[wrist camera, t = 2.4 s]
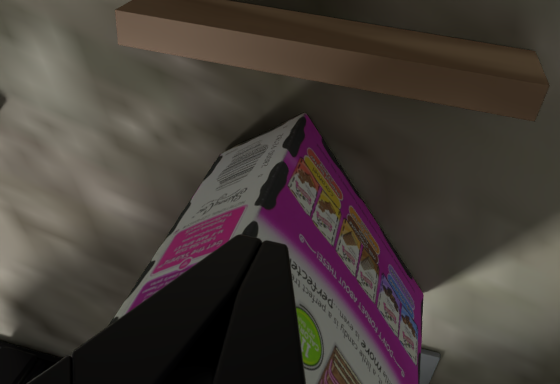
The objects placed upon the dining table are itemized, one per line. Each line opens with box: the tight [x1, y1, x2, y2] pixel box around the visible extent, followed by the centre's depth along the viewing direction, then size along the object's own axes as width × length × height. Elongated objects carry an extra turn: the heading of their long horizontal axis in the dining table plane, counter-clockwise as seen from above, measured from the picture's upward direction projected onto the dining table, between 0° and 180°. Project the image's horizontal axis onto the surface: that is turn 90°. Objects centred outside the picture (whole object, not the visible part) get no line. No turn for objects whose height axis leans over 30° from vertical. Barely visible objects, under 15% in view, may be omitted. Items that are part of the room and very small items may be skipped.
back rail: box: [115, 0, 550, 121], centre depth 18 cm, size 1×14×3 cm, turn 85°
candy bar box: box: [109, 113, 424, 384], centre depth 18 cm, size 11×5×16 cm, turn 34°
